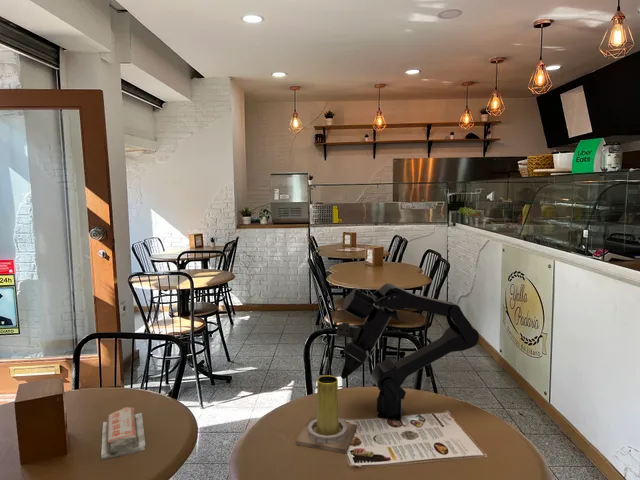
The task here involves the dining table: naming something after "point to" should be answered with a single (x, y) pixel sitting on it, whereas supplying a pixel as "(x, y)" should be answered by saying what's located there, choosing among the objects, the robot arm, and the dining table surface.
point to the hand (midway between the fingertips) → (345, 375)
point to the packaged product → (122, 434)
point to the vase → (327, 405)
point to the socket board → (327, 446)
